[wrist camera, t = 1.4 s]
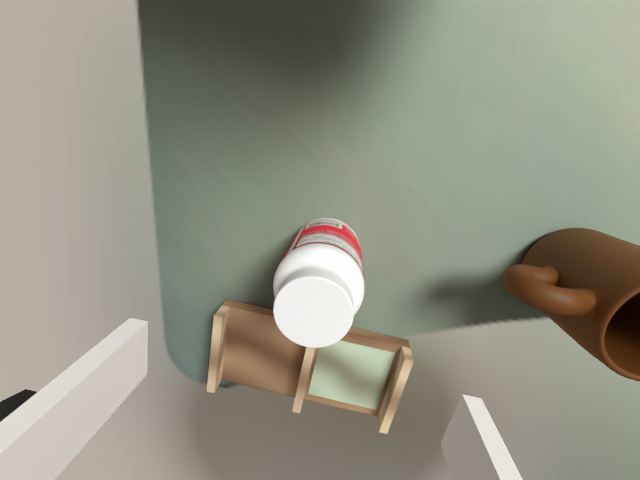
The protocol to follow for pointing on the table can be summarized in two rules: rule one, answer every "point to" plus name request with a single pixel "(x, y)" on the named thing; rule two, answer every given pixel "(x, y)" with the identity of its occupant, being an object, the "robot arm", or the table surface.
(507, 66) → the table surface
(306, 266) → the pill bottle
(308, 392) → the notch board
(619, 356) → the mug
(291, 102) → the table surface
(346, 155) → the table surface
